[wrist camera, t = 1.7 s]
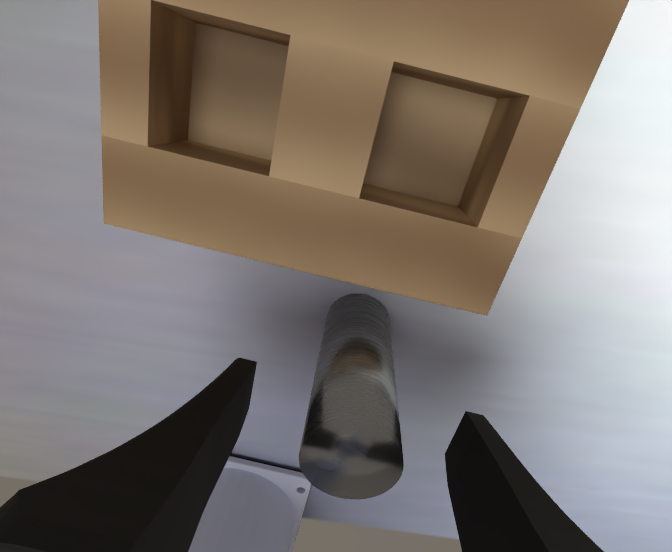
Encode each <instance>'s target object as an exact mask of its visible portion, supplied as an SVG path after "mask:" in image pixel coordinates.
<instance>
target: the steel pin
mask: <svg viewBox="0 0 672 552" xmlns="http://www.w3.org/2000/svg"><path fill="white" fill-rule="evenodd" d="M299 464H300V468H301V470H302V472H303V474H304V476H305V477H306V479H307V480H308V481H309V482H310V483H311V484H312V485H314V486H315V487H316V488H318V489H319V490H321V491H323V492H325V493H327V494H329V495H332V496H335V497H339V498H344V499H366V498H371V497H374V496H377V495H380V494H382V493H384V492H386V491H388V490H389V489H390V488H392V487H393V486H394V485H395V484H396V483H397V481H398V480H399V478H400V476H401V474H402V471H403V453H402V443H401V433H400V423H399V413H398V403H397V393H396V383H395V374H394V364H393V354H392V344H391V334H390V324H389V317H388V313H387V311H386V309H385V307H384V306H383V305H382V304H381V303H380V302H379V301H378V300H376V299H375V298H373V297H370V296H368V295H363V294H351V295H347V296H344V297H342V298H340V299H338V300H337V301H336V302H334V304H333V305H332V306H331V307H330V309H329V311H328V314H327V318H326V323H325V328H324V333H323V338H322V343H321V348H320V353H319V358H318V363H317V368H316V373H315V378H314V383H313V388H312V393H311V398H310V403H309V408H308V413H307V418H306V423H305V428H304V433H303V438H302V443H301V448H300V453H299Z"/></svg>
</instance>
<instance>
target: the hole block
mask: <svg viewBox="0 0 672 552" xmlns="http://www.w3.org/2000/svg"><path fill="white" fill-rule="evenodd" d="M628 2H629V0H98V6H99V46H100V87H101V128H102V168H103V209H104V224H108V225H112V226H116V227H120V228H124V229H129V230H133V231H137V232H141V233H145V234H149V235H153V236H158V237H162V238H166V239H170V240H174V241H178V242H183V243H187V244H191V245H195V246H199V247H203V248H208V249H212V250H216V251H220V252H224V253H228V254H232V255H237V256H241V257H245V258H249V259H253V260H257V261H262V262H266V263H270V264H274V265H278V266H282V267H287V268H291V269H295V270H299V271H303V272H307V273H311V274H316V275H320V276H324V277H328V278H332V279H336V280H341V281H345V282H349V283H353V284H357V285H361V286H366V287H370V288H374V289H378V290H382V291H386V292H390V293H395V294H399V295H403V296H407V297H411V298H415V299H420V300H424V301H428V302H432V303H436V304H440V305H445V306H449V307H453V308H457V309H461V310H465V311H469V312H474V313H478V314H482V315H486V316H487V314H488V312H489V310H490V308H491V306H492V303H493V301H494V299H495V297H496V295H497V292H498V290H499V288H500V286H501V283H502V281H503V279H504V277H505V275H506V272H507V270H508V268H509V266H510V263H511V261H512V259H513V257H514V255H515V252H516V250H517V248H518V246H519V244H520V241H521V239H522V237H523V235H524V232H525V230H526V228H527V226H528V224H529V221H530V219H531V217H532V215H533V212H534V210H535V208H536V206H537V204H538V201H539V199H540V197H541V195H542V192H543V190H544V188H545V186H546V184H547V181H548V179H549V177H550V175H551V173H552V170H553V168H554V166H555V164H556V161H557V159H558V157H559V155H560V153H561V150H562V148H563V146H564V144H565V141H566V139H567V137H568V135H569V133H570V130H571V128H572V126H573V124H574V121H575V119H576V117H577V115H578V113H579V110H580V108H581V106H582V104H583V102H584V99H585V97H586V95H587V93H588V90H589V88H590V86H591V84H592V82H593V79H594V77H595V75H596V73H597V70H598V68H599V66H600V64H601V62H602V59H603V57H604V55H605V53H606V50H607V48H608V46H609V44H610V42H611V39H612V37H613V35H614V33H615V31H616V28H617V26H618V24H619V22H620V19H621V17H622V15H623V13H624V11H625V8H626V6H627V4H628Z"/></svg>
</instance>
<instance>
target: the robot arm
mask: <svg viewBox="0 0 672 552" xmlns="http://www.w3.org/2000/svg"><path fill="white" fill-rule="evenodd" d="M256 364H257V362H255V361H251V360H247V359H242V358H238V359H236V360H235V361H234V362H233V363H232V364H231V365H230V366H229V367H228V368H227V369H226V370H225V371H224V372H223V373H221V374H220V375H219V376H218V377H217V378H216V379H215V380H214V381H213V382H212V383H210V384H209V385H208V386H207V387H206V388H204V389H203V390H202V391H201V392H200V393H199V394H197V395H196V396H195V397H194V398H192V399H191V400H190V401H188V402H187V403H186V404H184V405H183V406H182V407H180V408H179V409H178V410H176V411H175V412H174V413H172V414H171V415H169V416H168V417H167V418H165V419H164V420H162V421H161V422H159V423H158V424H156V425H154V426H153V427H151V428H150V429H148V430H147V431H145V432H143V433H142V434H140V435H138V436H136V437H135V438H133V439H131V440H129V441H128V442H126V443H124V444H122V445H121V446H119V447H117V448H115V449H113V450H111V451H109V452H107V453H105V454H103V455H101V456H99V457H97V458H95V459H93V460H91V461H88V462H86V463H84V464H82V465H80V466H78V467H76V468H74V469H71V470H69V471H67V472H64V473H62V474H59V475H57V476H54V477H52V478H49V479H47V480H44V481H42V482H39V483H36V484H34V485H31V486H29V487H26V488H23V489H21V490H19V491H18V492H17V493H16V494H15V495H14V496H13V497H12V498H10V499H9V500H8V501H7V502H6V503H5V504H4V505H3V506H1V507H0V552H292V549H293V545H294V542H295V539H296V535H297V532H298V528H299V525H300V522H301V518H302V515H303V512H304V508H305V505H306V501H307V498H308V494H309V491H310V488H311V483H310V482H309V481H308V480H307V479H306V477H305V476H304V474H303V473H301V472H297V471H292V470H288V469H284V468H279V467H275V466H271V465H266V464H262V463H258V462H253V461H249V460H245V459H240V458H236V457H231V456H230V454H231V452H232V450H233V448H234V446H235V444H236V442H237V439H238V437H239V435H240V432H241V429H242V426H243V424H244V421H245V418H246V415H247V412H248V409H249V405H250V399H251V393H252V387H253V381H254V376H255V370H256ZM445 460H446V472H447V482H448V488H449V493H450V498H451V503H452V507H453V512H454V516H455V521H456V525H457V530H458V534H459V539H460V543H461V548H462V552H604V551H603V550H602V549H600V548H599V547H598V546H597V545H596V544H595V543H594V542H593V541H592V540H591V539H590V538H589V537H588V536H587V535H586V534H585V533H584V532H583V531H582V530H581V529H580V528H579V527H578V526H577V525H576V524H575V523H574V522H573V521H572V520H571V519H570V518H569V517H568V516H567V515H566V514H565V513H564V512H563V511H562V510H561V509H560V508H559V506H558V505H557V504H556V503H555V502H554V501H553V500H552V499H551V498H550V496H549V495H548V494H547V493H546V492H545V491H544V490H543V488H542V487H541V486H540V485H539V484H538V483H537V482H536V480H535V479H534V478H533V477H532V476H531V474H530V473H529V472H528V471H527V469H526V468H525V467H524V466H523V465H522V463H521V462H520V461H519V460H518V458H517V457H516V456H515V455H514V453H513V452H512V451H511V449H510V448H509V447H508V446H507V444H506V443H505V442H504V441H503V439H502V438H501V437H500V435H499V434H498V433H497V432H496V430H495V429H494V428H493V426H492V425H491V424H490V423H489V422H488V420H487V419H486V418H485V417H484V416H483V415H480V414H475V413H471V412H467V411H466V412H465V414H464V416H463V418H462V420H461V422H460V424H459V426H458V428H457V430H456V432H455V434H454V436H453V438H452V440H451V443H450V445H449V447H448V449H447V451H446V453H445Z"/></svg>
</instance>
